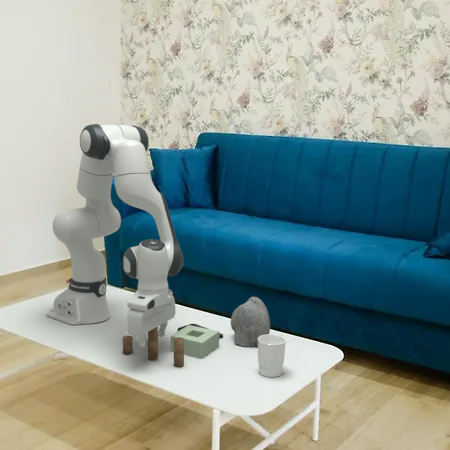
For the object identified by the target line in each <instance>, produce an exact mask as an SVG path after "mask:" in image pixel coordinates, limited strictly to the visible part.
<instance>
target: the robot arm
mask: <svg viewBox="0 0 450 450" xmlns="http://www.w3.org/2000/svg"><path fill="white" fill-rule="evenodd" d="M149 141H150V140H149V136H148V133H147V131H146V130H145V129H144V128H142V127H140V126H137V125H127V124H121V123H112V124H108V123H107V124H106V123H103V124H99V123H93V124H89V125H86V126H85V127H84V128H83V129H82V131H81V133H80V136H79V147H80V150H81V151H82V155H81V159H80V164H79V168H78V175H77V182H76V183H77V184H76V190H77V192H78V194H80V196H81V197H83V198H84V199H85V206H84V207H80V208H73V209H68V210H65V211H62V212H60V213H57V214H56V215H55V217H54V218H53V220H52V232H53V234H54V236H55V238H56V239H57V240H58V241H60V242H61V243H63V245H64V246H66V248H67V250H68V252H69V255H70V259H71V270H72V271H71V273H72V274H71V275H72V276H71V278H69V279H66V280H65V281H66V284H68V288H66V289H64V290H63V292H61V293H60V294H58V295H57V296H55V298H54V300H53V305H52V308H50V309H49V310H47V312H46V316H47V317H49V318H51V319H54V320H57V321H60V322H63V323H65V324H69V325H71V326H77V325H86V324H90V325H91V324H96V323H97V324H98V323H101V322H105V321H106V320H108V319H110V317H111V314H110V311H109V306H108V300H107V293H106V292H107V277H106V262H105V261H106V258H105V256H104V254H103V253H102V252H101V251H100V250H98V249H96V248H95V247H94V246H95V245H94V244H93V242H94V241H93V239H98V238H99V239H100V238H102V237H103V238H104V237H107V236H110V235H112V234H113V233H116V232H117V231H118V230H120V227H121V224H122V223H121V222H122V217H121V214H120V212H119V210H118V209H117V208H116V207H115V206H114V204H113V201H112V198H111V196H112V195H111V193H112V186H113V185H112V184H113V179H114V187H115V191H116V194H117V197H118V198H119V199H120V200H121V201H122V202H123V203H125V204H126V205H128V206H131V207H133V208H137V209H140V210H143V211H145V212H147V213H148V214H150V216H152V217H153V219H154V221H155V224H156V227H157V231H158V236H159V239H154V238H153V239H152V238H151V239H150V238H149V239H145V240H142V241H140V243H139V244H138V245H136V246H131V247H128V248H127V249H126V251H125V252H124V253H123V255H122V270H123V272H124V274H125V275H127V276H128V277H129V278H131V279H134V280H135V279H137V281H138V283H137V290H136V291H135V292H134V294H133V295H132V296H131V297H130V298H129V299H128V300H127V304H126V306H127V308H128V309H129V310H128V312H127V323H126V324H127V333H128V334H129V336H132V337H136V338H137V340H138V341H139V346H140V347H141V348H146V347H148V339H146V337H147V334H148V332H149V331H151V330H152V329H154V328H156V327H158V337H159V338H162V337H164V336H166V330H167V327H168V323H169V322H168V321H170V320H172V319H174V318H175V317H176V301H175V297H174V296H173V294H174V293H173V291H172V289H170V288H169V283H168V277H175V276H176V275H178V273H180V272H181V270H182V268H183V266H184V263H185V259H184V254H183V251H182V248H181V246H180V244H179V241H178V239H177V238H178V237H177V235H176V231H175V228H174V225H173V221H172V220H173V219H172V218H171V217H172V216H171V213H170V209H169V207H168V204H167V201H166V199H165V196H164V194H163V192H160V191H158V190H157V188H156V186H155V185H154V184H155V183H154V182H153V180H152V175H151V174H152V172H151V166H150V161H149V158H148V154H147V150H148V149H149V145H150V144H149V143H150V142H149Z"/></svg>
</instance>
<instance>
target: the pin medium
mask: <svg viewBox="0 0 450 450" xmlns="http://www.w3.org/2000/svg"><path fill="white" fill-rule="evenodd" d="M184 366H185V355H184V338H181V337H177V338H174V352H173V367H174V368H182V367H184Z"/></svg>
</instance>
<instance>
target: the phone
mask: <svg viewBox="0 0 450 450" xmlns="http://www.w3.org/2000/svg"><path fill="white" fill-rule="evenodd" d="M188 325H191V326H196V327H201V328H206V329H209V328H207V327H204V326H202V325H199V324H196V323H189V324H185V325H183V326H180V327H178V328H177V332H178V331H180V330H181V329H183V328H185V327H186V326H188ZM223 338H224V334H223V333H221V332H219V340H220V339H223Z"/></svg>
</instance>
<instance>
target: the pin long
mask: <svg viewBox="0 0 450 450" xmlns="http://www.w3.org/2000/svg"><path fill="white" fill-rule="evenodd" d="M158 330H159V326H158V327H156V328H154V329H152V330H151V331H149V332H147V340H148V343H147V344H148V345H147V361H150V362H156V361H158V360H159V355H158V354H159V336H158Z"/></svg>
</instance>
